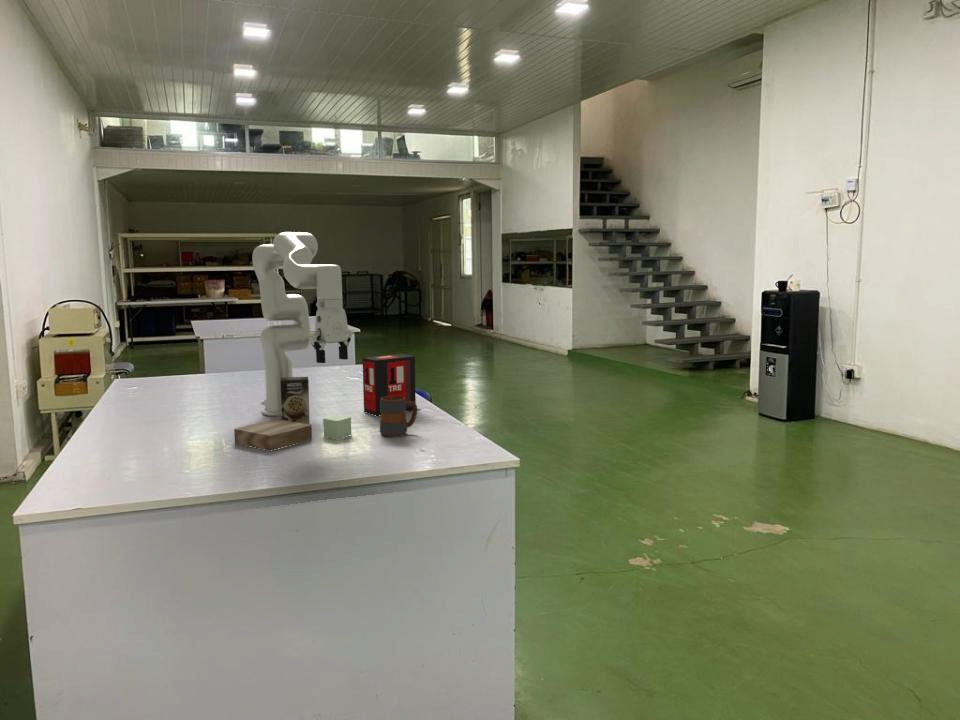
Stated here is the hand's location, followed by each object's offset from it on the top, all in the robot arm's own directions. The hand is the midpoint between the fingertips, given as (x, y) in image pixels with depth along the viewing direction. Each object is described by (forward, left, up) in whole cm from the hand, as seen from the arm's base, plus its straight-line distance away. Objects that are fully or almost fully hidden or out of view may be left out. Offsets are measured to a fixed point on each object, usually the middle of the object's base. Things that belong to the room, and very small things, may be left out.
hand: (332, 361), depth 217 cm
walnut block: (-11, -14, -24) cm, 31 cm away
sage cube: (+1, +1, -24) cm, 24 cm away
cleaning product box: (-9, +38, -24) cm, 46 cm away
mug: (+15, +14, -24) cm, 31 cm away
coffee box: (-21, +4, -24) cm, 32 cm away
